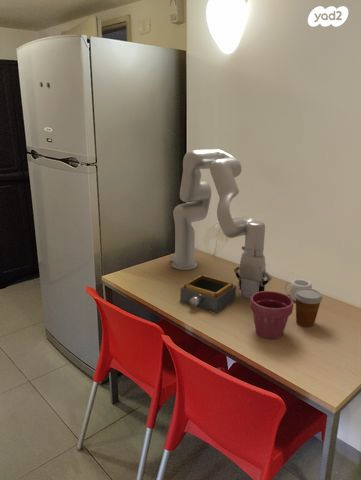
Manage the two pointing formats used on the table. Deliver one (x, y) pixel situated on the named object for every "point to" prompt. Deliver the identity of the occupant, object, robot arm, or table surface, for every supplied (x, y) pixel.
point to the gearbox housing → (208, 293)
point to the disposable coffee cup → (307, 306)
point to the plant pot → (271, 313)
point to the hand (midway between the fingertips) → (251, 291)
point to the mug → (297, 286)
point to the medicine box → (249, 287)
